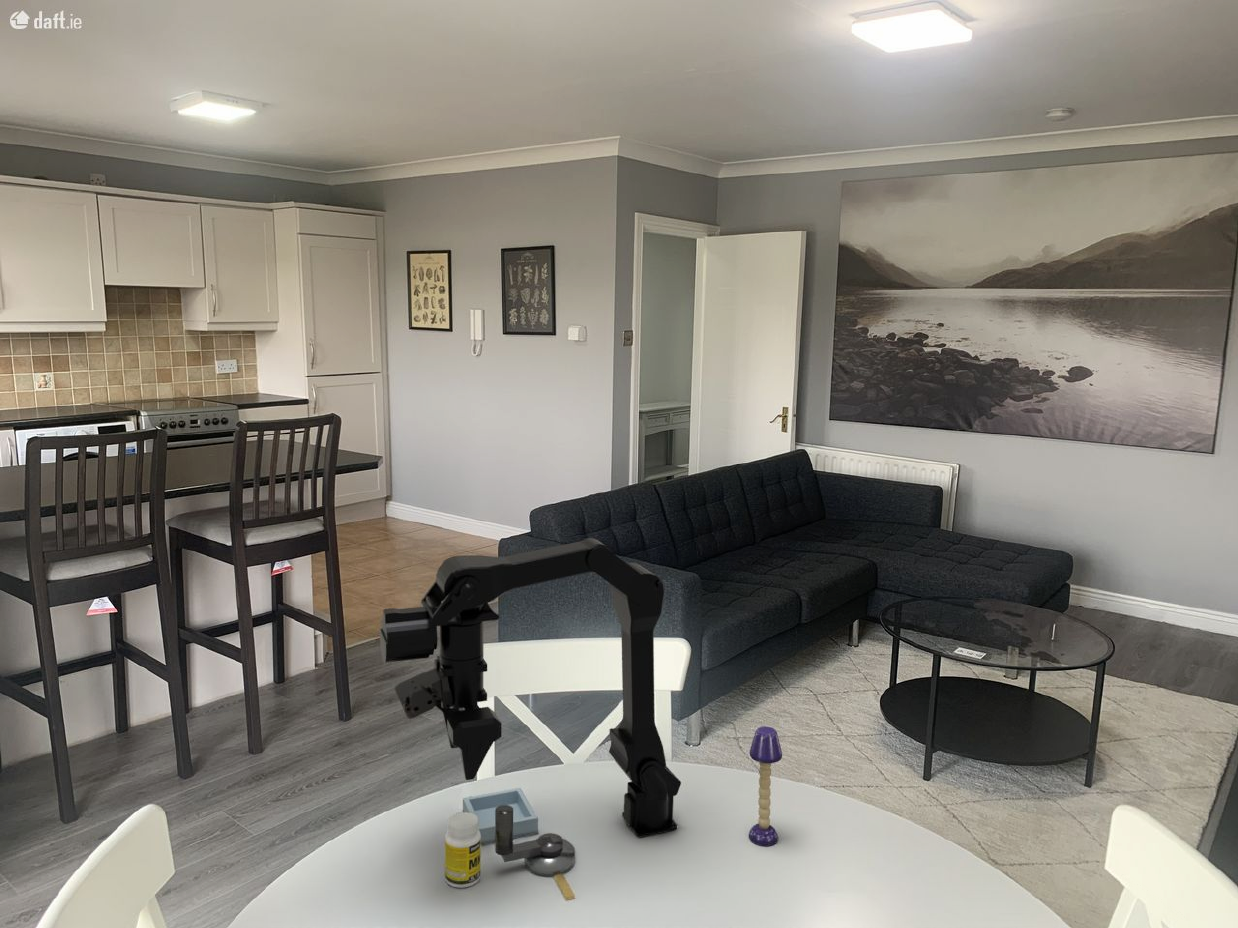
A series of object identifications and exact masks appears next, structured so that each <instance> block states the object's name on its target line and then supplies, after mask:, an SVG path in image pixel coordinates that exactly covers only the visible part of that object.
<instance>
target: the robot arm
mask: <svg viewBox="0 0 1238 928" xmlns="http://www.w3.org/2000/svg"><path fill="white" fill-rule="evenodd" d="M589 573H596V575H598V576H599V577H601V578H602V579H603V580H605V581H606V582H607V583H609V588H610V593H611V599H612V604H613V607H614V610H615V614H616V616H617V619H618V621H619V624H620V628H621V629H620V630H621V631H620V632H621V677H622V684H621V685H622V719H621V722H620V724H619V726H618V727H617V728H615V727H614V728H612V727H611V728H609V732H608V733H609V737H610V747H609V750H608V753H609V754H610V755H611V757H612V758H613V759H614V761H615V763H616V765H618V766H619V768H620V769H621V770H622V771H623V772H624V774H625V775H626V776H627V778H628V779H629V780H630V781H628V782H627V789H626V790H627V793H624V795H623V811H622V812H621V814H622V815H621V816H622V817H623V820H624V821H625V823H626V824H627V825H628V826H629V828H631V830H632V832H633V833H634V834H635V835H636V837H638V838H642V837H647V836H652V835H657V834H662V833H667V832H670V831H675V830H677V829H678V824H677V823H676V821H675V820H674V819H673V818H674V797H675V796H677V795H678V793H679V791H680V788H681V785H682V781H681V780H680V779H679V778H678V777H677V776H676V775H675V773H673V772H672V771H671V769H669V767H668V766H667V762H666V761H667V760H666V755H665V750H664V745H663V742H662V739H661V736H660V734H659V732H658V729H657V725H656V721H655V719H656V718H655V648H654V647H655V645H654V643H655V642H654V640H655V639H654V636H655V635H654V632H655V627H656V626H657V624H658V622H659V620H660V618H661V616H662V614H663V613H662V612H663V607H664V606H663V605H664V599H665V592H666V590H665V586H664V583H663V581H662V580H661V579H660V578H659V577H658V576H657V575H656V574H654V573H652V572H651V571H649V570H648V569H646V568H644V567H643V566H642V565H640V564H638V563H637V562H626V561H624V560H622V559H621V558H620V557H619V556H617V555H616V554H614V553H613V552H612V551H611V550H610V548H609V547H608V546H606V545H605V544H603V543H602V542H601V541H599V540H598V539H596V538H593V537H589V538H584V539H582V540H581V541H576V542H572V543H567V544H562V545H561V544H560V545H556V546H552V547H546V548H541V549H537V550H530V551H527V552H521V553H515V554H512V555H506V556H491V555H483V554H482V555H480V554H473V555H472V554H471V555H469V554H467V555H464V554H463V555H454V556H451V557H448V558H446V559H445V560H443V561H442V563H441V565H440V566H439V567H438V569H437V572H436V575H435V581H434V582H433V583H432V585H431V587H430V588H429V589H428V590H427V592H426V594H425V595H424V596H423V597H422V599H421V600H420V604H421V606H417V607H407V608H405V607H404V608H397V607H395V608H394V607H393V608H392V607H391V608H384V609H383V610H382V619H381V624H380V625H381V626H380V628H379V645H380V653H381V659H382V662H383V664H390V663H391V664H392V663H398V662H407V661H408V662H409V661H415V660H424V659H429V658H430V656H433V655H434V653H435V650H437V648H438V627H439V655H437V656H436V658H435V659H434V664H433V666H434V667H433V669H430V670H428V671H425V672H424V671H423V672H421V673H419V674H416V675H415V676H414V675H413V677H410V678H408V679H406V680H404V681H402V682H400V683H398V684H397V685H395V687H394V690H395V693H396V695H397V697H398V700H399V702H400V705H401V707H402V710H403V712H404V714H405V717H406V718H407V719H409V720H411V719H414V718H417V717H419V716H422V715H423V714H425V713H427V712H429V711H431V710H433V709H434V708H435V707H436V708H437V709H438V710H440V711H441V714H442V718H443V722H444V726H445V727H444V728H445V731H446V735H447V737H448V742H449V747H450V748H451V749H457V748H458V749H459V754H460V758H461V763H462V769H463V773H464V779H465V780H466V781H470V780H474V779H475V778H476V776H477V774H478V772H479V770H480V768H481V766H482V764H483V762H484V760H485V758H486V756H487V754H488V752H489V750H490V749H491V747H492V746H493V744H494V742H497V741H498V740H499V739H501V738H502V728H503V727H502V724H503V723H502V721H501V720H500V718H499V717H498V716H497V713H496V712H495V711H494V710H493V709H492V708H490V707H489V706H484V707H480V706H479V705H478V703H481V702H487V701H488V692H487V691H486V689H485V688H484V672H488V663H487V661H486V660H485V658H484V629H485V628H484V622H492V621H498V620H499V619H500V615H499V614H498V612H497V611H496V610H495V609H494V608H493V607H492V606H491V605H490V604H489V603H490V602H493V601H495V600H497V599H498V598H499V597H501V596H502V595H504V594H505V593H507V592H509V591H513V590H515V589H519V588H520V589H521V588H525V587H528V586H534V585H538V584H539V585H540V584H542V583H547V582H553V581H557V580H562V579H566V578H570V577H576V576H580V575H585V574H589Z"/></svg>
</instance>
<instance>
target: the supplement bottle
mask: <svg viewBox="0 0 1238 928" xmlns="http://www.w3.org/2000/svg"><path fill="white" fill-rule="evenodd" d="M478 828H479V825H478V817H477V816H476V815H475V814H472V813H468V812H463V811H461V812H457V813H455V814H453V815H450V817H449V818H448V820H447V832H446V834H445V836H444V880H445V882H446V884H448V885H449V886H451V887H454V888H457V889H458V888H461V889H462V888H469V887H472V886H473V885H476V883H478V881H480V878H481V876H482V875H481V871H482V867H481V865H482V855H481V854H482V853H481V851H482V850H481V849H482V845H481V834H480V831H479V830H478Z"/></svg>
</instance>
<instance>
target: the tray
mask: <svg viewBox="0 0 1238 928" xmlns="http://www.w3.org/2000/svg"><path fill="white" fill-rule="evenodd" d="M529 801H530V800H528V798H527V796H526V795H525V793H524V791H523V789H522V788H521V787H517V788H510V789H504V790H500V791H494V792H489V793H483V794H478V795H473V796H467V797H463V798H462V812H468V813H472V814H475V815H476V816H477V817H478V825H479V828H478V830H479V831H480V834H481V846H484V845H489V844H495V809H496V808H497V807H499V806H502V805H508V806H511V807H512V808H513V840H514V839H517V838H523V837H529V836H534V835H537V834H539V817H538V815H537V813H536V812H535V810H534V809H533V807H532V805H531V803H530V802H529Z"/></svg>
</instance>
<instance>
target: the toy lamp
mask: <svg viewBox="0 0 1238 928" xmlns="http://www.w3.org/2000/svg"><path fill="white" fill-rule="evenodd" d="M749 757H750V758H751V759H752V760H753V761H755V762H758V763H759V766H760V767H759V769H758V774H759V779H758V784H759V787H758V795H759V797H758V801H757V802H758V806H759V807H758V811H757V812H758V816H759V817H758V823H756V824H754V825H753V826H752V827H751V828H750V830H749V834H748V839H749V840H750V842H752V844H755V845H758V846H760V847H768V846H773V845H775V844H777V843H778V841H779V836H778V833H777V830H776V829H775V827H773V826H772V825H771V818H770V816H771V808H770V807H771V798H770V797H771V794H772V793H771V784H772V783H771V782H772V781H771V780H772V779H771V776H772V775H771V774H772V769H771V767H772V764H776V763H777V762H779V761H781V760H782V758H783V752H782V747H781V744H780V738H779V735H778V732H777V730H776V729H775V728H774V727H771V726H764V725H763V726H759V727H758V728H756V729H755V732H754V736H753V738H752V742H751V746H750V749H749Z"/></svg>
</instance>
